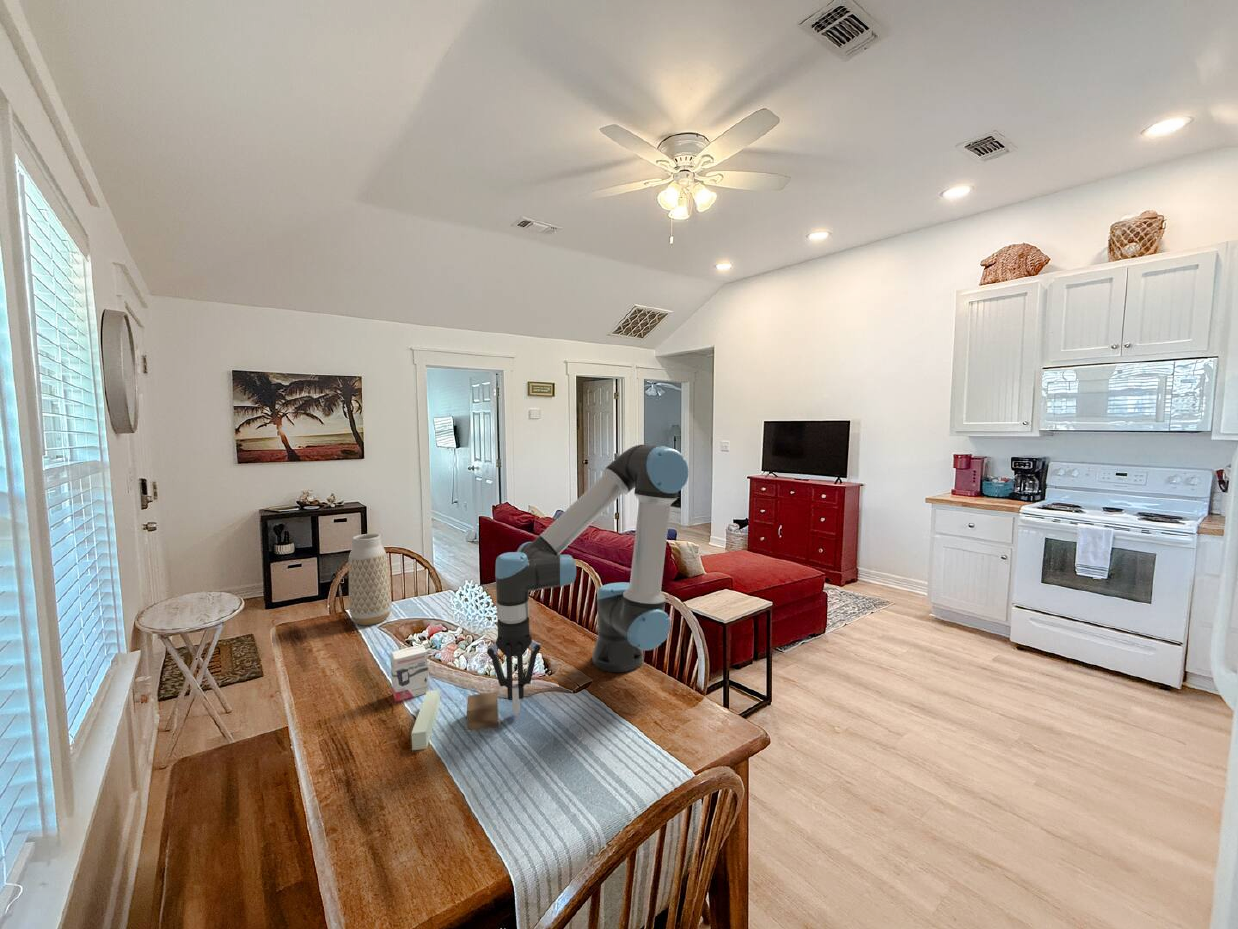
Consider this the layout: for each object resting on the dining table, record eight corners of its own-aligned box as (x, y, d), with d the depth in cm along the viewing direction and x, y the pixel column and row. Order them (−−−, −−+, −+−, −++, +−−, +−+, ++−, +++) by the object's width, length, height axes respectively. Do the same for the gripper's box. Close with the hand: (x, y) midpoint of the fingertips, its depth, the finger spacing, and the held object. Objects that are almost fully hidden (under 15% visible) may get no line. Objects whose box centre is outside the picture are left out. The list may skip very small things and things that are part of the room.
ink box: (396, 703, 137) (393, 659, 136) (392, 694, 141) (389, 651, 140) (430, 692, 142) (427, 650, 141) (425, 685, 146) (423, 643, 145)
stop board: (440, 704, 136) (439, 689, 136) (426, 748, 118) (425, 731, 118) (427, 705, 136) (426, 690, 135) (412, 750, 118) (411, 733, 117)
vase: (385, 609, 201) (380, 530, 198) (397, 620, 191) (392, 536, 187) (346, 619, 192) (340, 536, 189) (356, 631, 182) (350, 543, 179)
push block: (497, 710, 133) (497, 691, 133) (498, 727, 126) (497, 707, 126) (468, 715, 132) (468, 695, 131) (467, 731, 125) (466, 711, 124)
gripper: (540, 610, 132) (542, 700, 135) (486, 613, 130) (490, 705, 133) (541, 621, 125) (543, 716, 128) (483, 626, 123) (487, 722, 125)
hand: (516, 710), depth 130 cm, fingers closed
